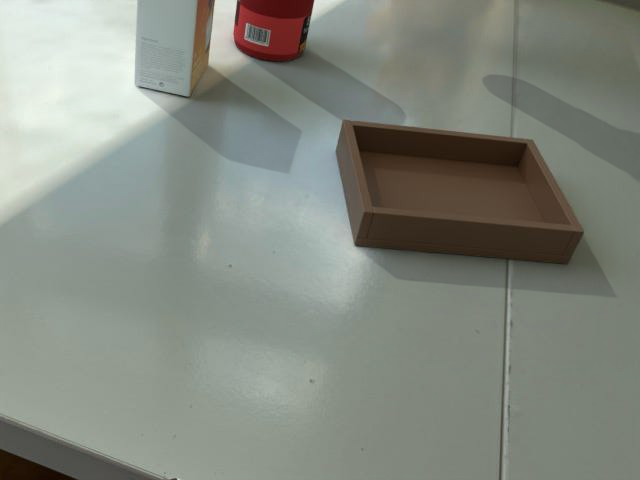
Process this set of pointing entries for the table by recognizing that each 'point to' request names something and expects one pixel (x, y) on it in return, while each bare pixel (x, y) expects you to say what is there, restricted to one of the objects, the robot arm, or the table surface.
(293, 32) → the canned food
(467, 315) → the table surface
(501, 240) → the tray
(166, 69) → the small box
